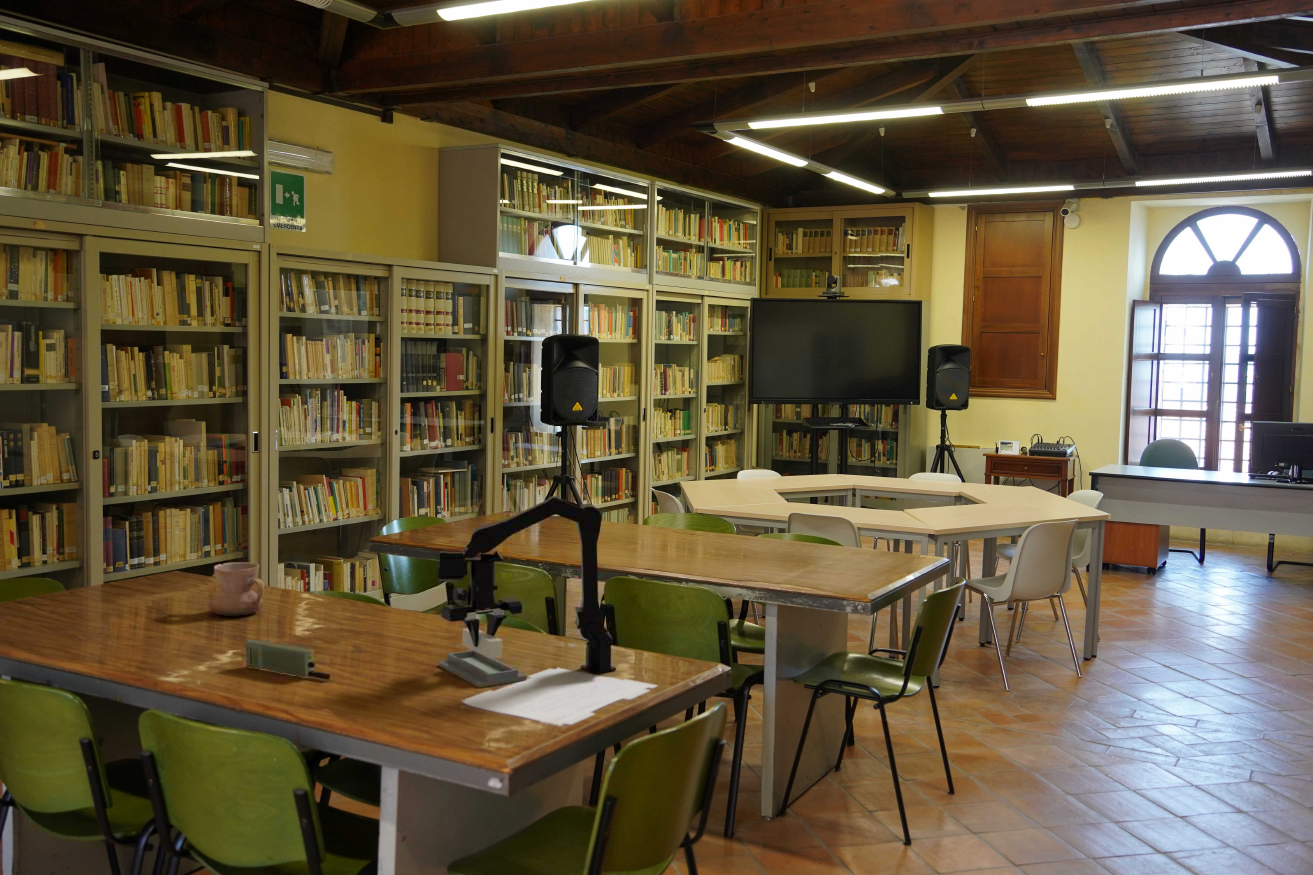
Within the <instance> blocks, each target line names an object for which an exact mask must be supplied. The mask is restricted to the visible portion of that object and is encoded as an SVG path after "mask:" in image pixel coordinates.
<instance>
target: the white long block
mask: <svg viewBox="0 0 1313 875" xmlns="http://www.w3.org/2000/svg"><path fill="white" fill-rule="evenodd" d="M461 645H462V647H465V648H467V649H469V650H473V651H475V652H477V653H479V654H481V655H483V656H485V657H487V658H490V659H500V658H503V639H501V638H499V637H496V636H492V635H490V634H488V633H487V632H485V631H483V630H481V629H479V640H478V646H477V647H475V646H474V644H473V642H472V639H471V636H470V633H469V630H468V628H463V629H462V644H461Z"/></svg>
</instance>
